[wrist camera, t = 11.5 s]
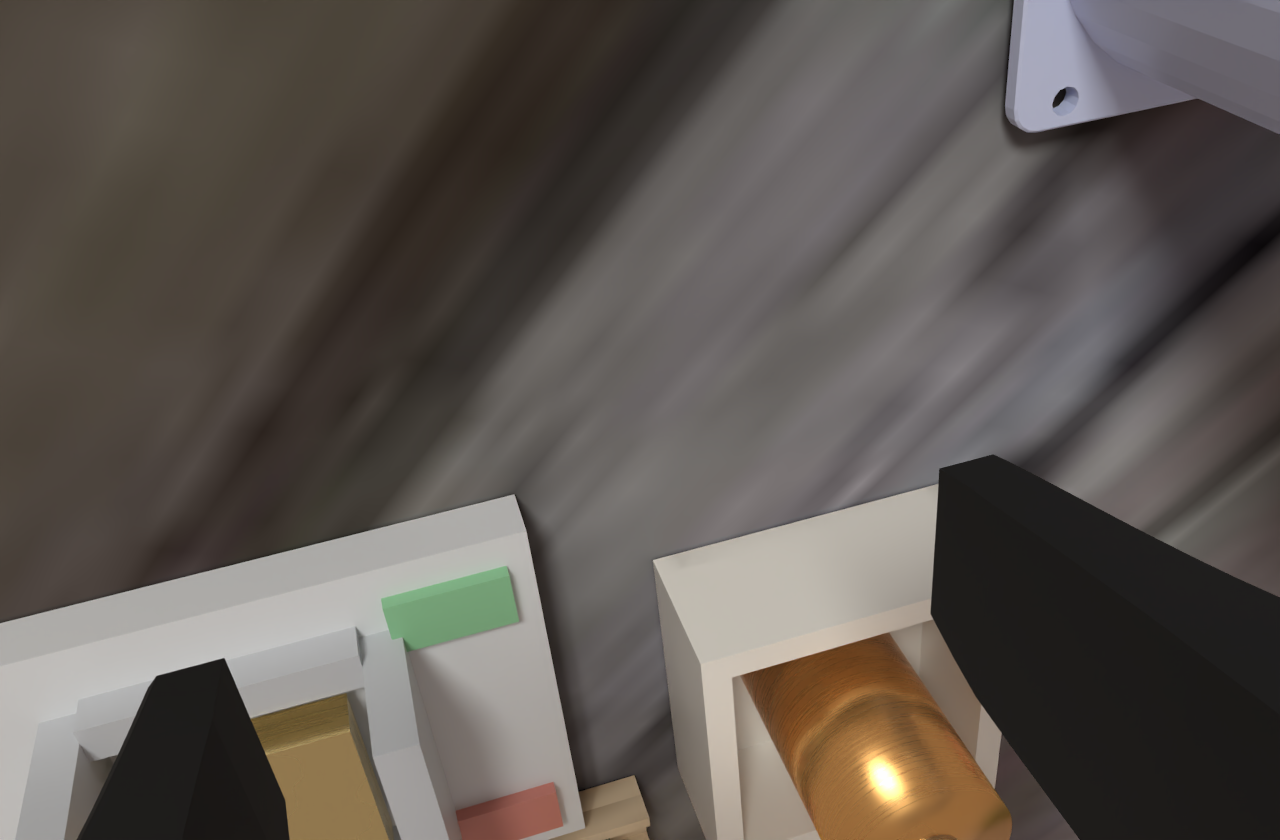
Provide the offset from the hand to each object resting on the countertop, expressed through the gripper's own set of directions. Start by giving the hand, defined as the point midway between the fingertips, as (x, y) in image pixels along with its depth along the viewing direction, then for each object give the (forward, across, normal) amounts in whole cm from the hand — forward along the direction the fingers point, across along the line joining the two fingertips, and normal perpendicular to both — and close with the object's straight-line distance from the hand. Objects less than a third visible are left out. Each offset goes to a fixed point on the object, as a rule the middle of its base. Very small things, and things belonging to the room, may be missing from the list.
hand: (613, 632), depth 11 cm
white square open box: (+10, -6, +12) cm, 16 cm away
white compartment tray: (+10, +6, +10) cm, 15 cm away
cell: (+9, -6, +11) cm, 16 cm away
